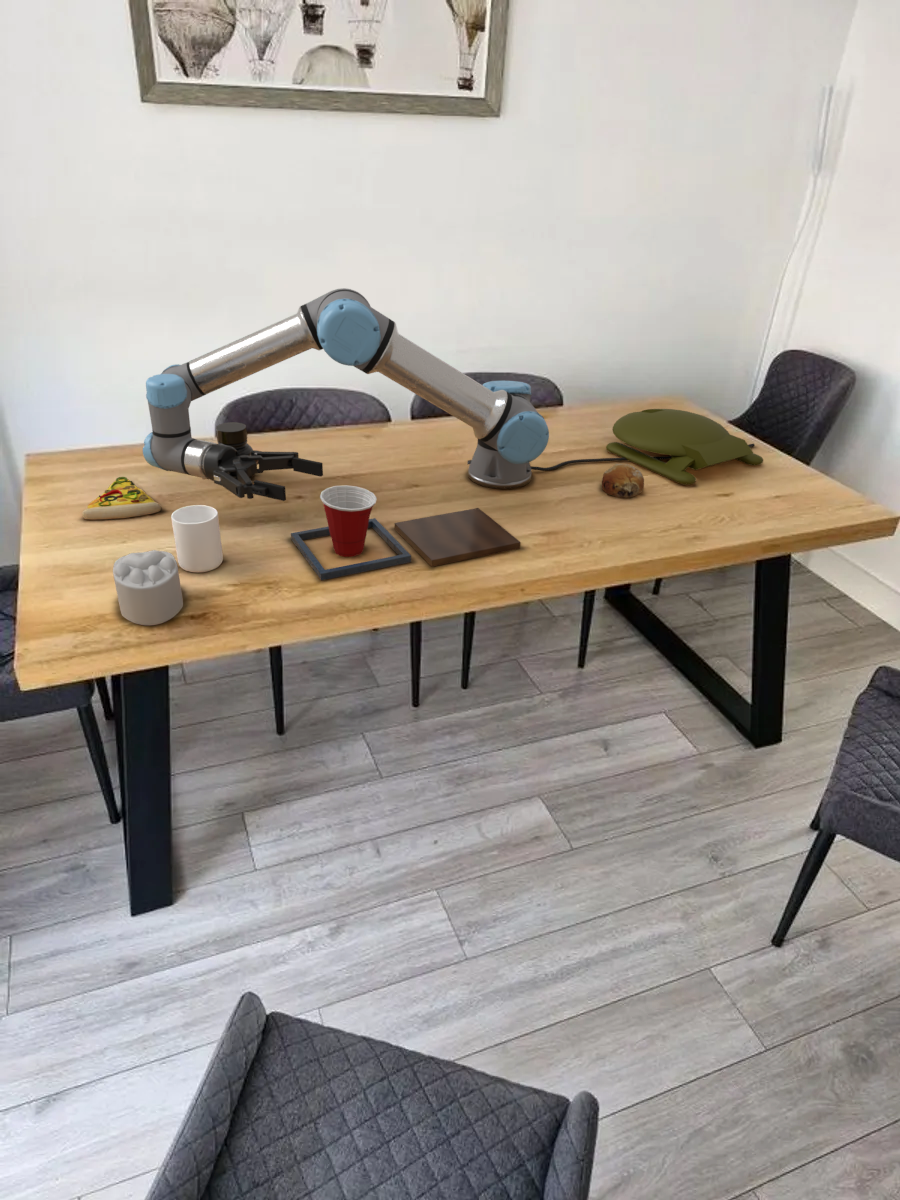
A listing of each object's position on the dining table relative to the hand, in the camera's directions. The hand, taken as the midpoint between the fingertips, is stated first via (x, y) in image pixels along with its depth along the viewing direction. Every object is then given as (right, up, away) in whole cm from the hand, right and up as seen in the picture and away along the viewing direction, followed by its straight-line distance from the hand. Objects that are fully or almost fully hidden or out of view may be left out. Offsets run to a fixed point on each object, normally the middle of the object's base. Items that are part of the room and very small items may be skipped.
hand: (303, 481), depth 160 cm
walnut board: (+30, -10, +10) cm, 33 cm away
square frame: (+9, -13, +4) cm, 16 cm away
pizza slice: (-43, -1, +20) cm, 48 cm away
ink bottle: (-22, +6, +34) cm, 41 cm away
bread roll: (+69, +3, +35) cm, 78 cm away
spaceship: (+88, +15, +57) cm, 106 cm away
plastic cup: (+9, -13, +4) cm, 16 cm away
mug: (-20, -15, -2) cm, 25 cm away
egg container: (-24, -24, -17) cm, 38 cm away
